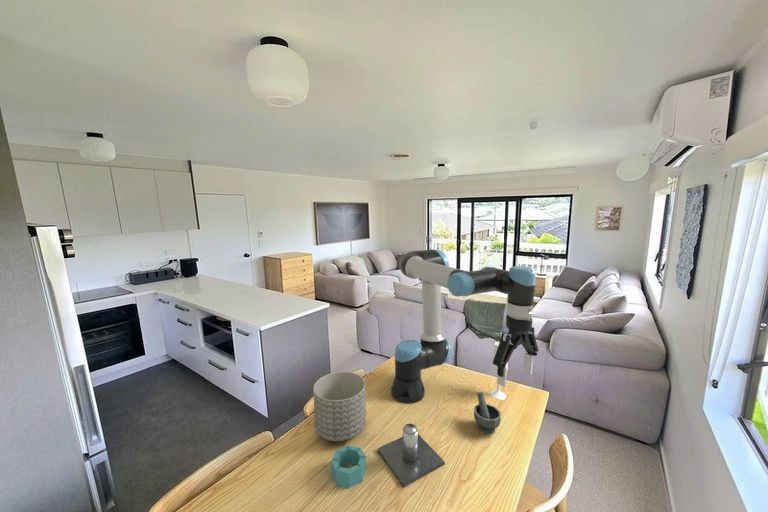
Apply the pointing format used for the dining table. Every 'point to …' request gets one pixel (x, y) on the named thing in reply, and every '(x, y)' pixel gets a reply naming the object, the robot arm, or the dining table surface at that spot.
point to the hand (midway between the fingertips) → (514, 378)
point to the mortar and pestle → (486, 415)
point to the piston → (410, 456)
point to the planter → (339, 406)
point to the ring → (353, 474)
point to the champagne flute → (498, 393)
